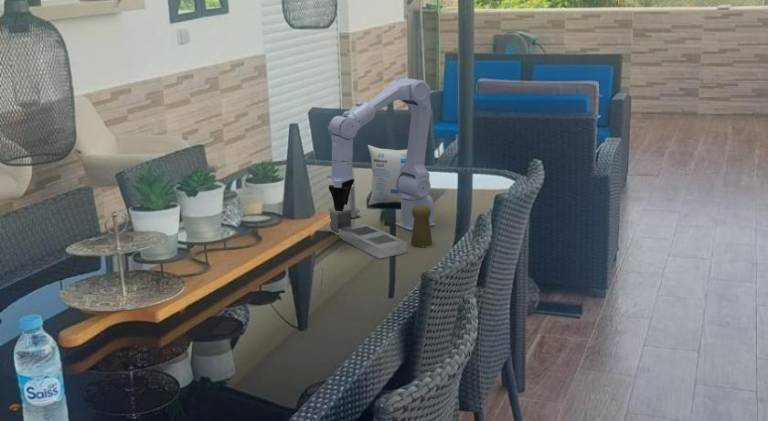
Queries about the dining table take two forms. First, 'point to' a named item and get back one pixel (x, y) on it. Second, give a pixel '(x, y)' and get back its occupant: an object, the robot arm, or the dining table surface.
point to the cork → (421, 226)
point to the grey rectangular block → (340, 219)
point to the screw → (353, 203)
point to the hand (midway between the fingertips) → (341, 207)
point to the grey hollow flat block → (373, 240)
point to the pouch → (386, 174)
